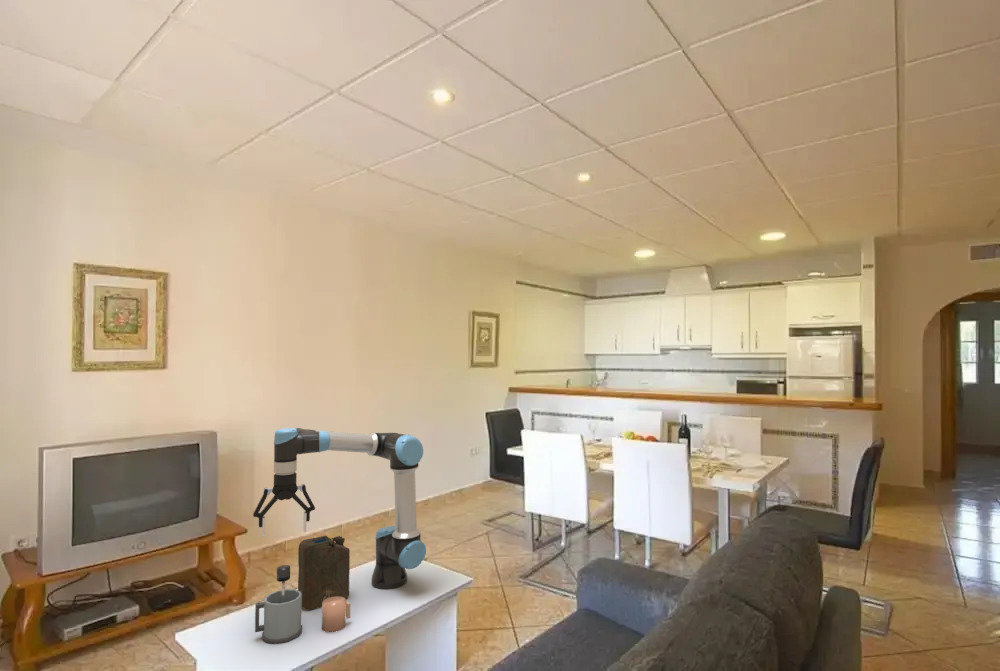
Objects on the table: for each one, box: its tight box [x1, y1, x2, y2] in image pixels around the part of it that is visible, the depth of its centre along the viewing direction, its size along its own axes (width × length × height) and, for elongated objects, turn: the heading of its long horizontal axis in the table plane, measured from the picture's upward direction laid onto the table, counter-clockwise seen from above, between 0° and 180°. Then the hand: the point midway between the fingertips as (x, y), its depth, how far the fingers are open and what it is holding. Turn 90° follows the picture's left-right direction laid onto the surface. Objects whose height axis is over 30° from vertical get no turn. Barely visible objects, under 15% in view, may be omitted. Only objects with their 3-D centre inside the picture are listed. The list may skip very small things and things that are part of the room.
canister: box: [297, 535, 351, 611], centre depth 212 cm, size 19×8×25 cm, turn 129°
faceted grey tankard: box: [254, 588, 303, 645], centre depth 186 cm, size 15×13×13 cm
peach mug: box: [321, 596, 351, 633], centre depth 192 cm, size 10×8×9 cm
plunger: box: [276, 564, 291, 603], centre depth 187 cm, size 9×9×18 cm
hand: (284, 533), depth 188 cm, fingers open, 13 cm apart
